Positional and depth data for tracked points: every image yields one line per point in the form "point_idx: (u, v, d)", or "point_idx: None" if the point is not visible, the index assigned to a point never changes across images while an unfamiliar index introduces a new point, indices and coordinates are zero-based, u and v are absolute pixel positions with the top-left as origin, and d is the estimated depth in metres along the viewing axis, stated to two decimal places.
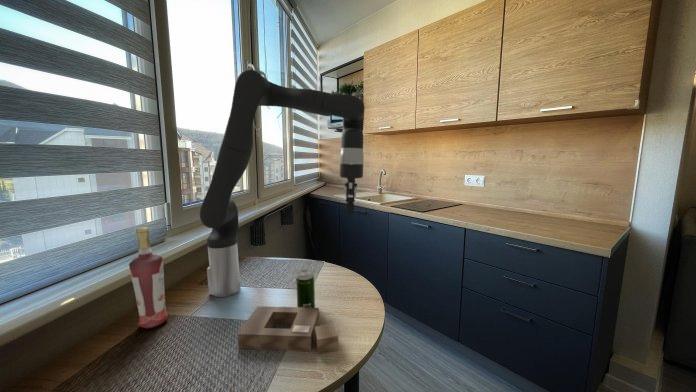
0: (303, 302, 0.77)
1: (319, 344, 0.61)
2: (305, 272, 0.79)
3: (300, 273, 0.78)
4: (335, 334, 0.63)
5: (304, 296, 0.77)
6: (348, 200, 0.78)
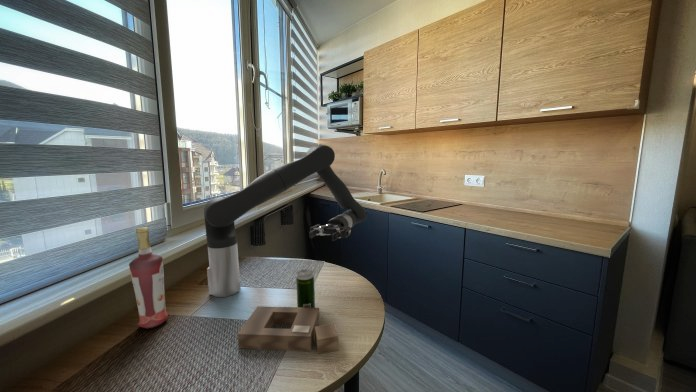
0: (303, 302, 0.77)
1: (319, 344, 0.61)
2: (305, 272, 0.79)
3: (300, 273, 0.78)
4: (335, 334, 0.63)
5: (304, 296, 0.77)
6: (345, 233, 0.89)
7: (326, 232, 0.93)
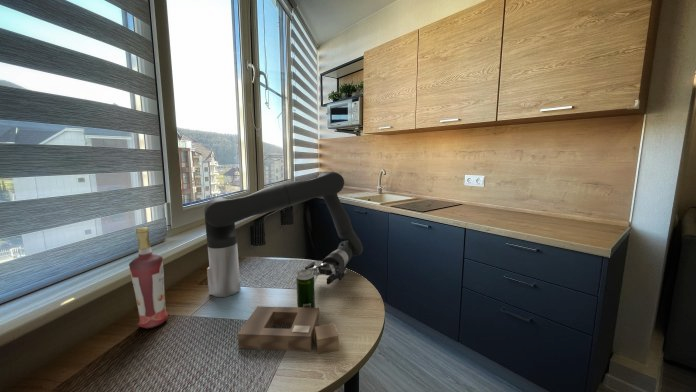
0: (303, 302, 0.77)
1: (319, 344, 0.61)
2: (305, 272, 0.79)
3: (300, 273, 0.78)
4: (335, 334, 0.63)
5: (304, 296, 0.77)
6: (341, 275, 0.88)
7: (321, 272, 0.92)
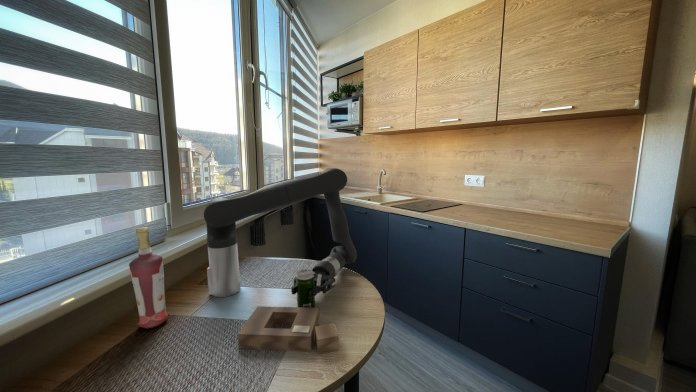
0: (303, 302, 0.77)
1: (319, 344, 0.61)
2: (305, 272, 0.79)
3: (300, 273, 0.78)
4: (335, 334, 0.63)
5: (304, 296, 0.77)
6: (325, 287, 0.79)
7: None
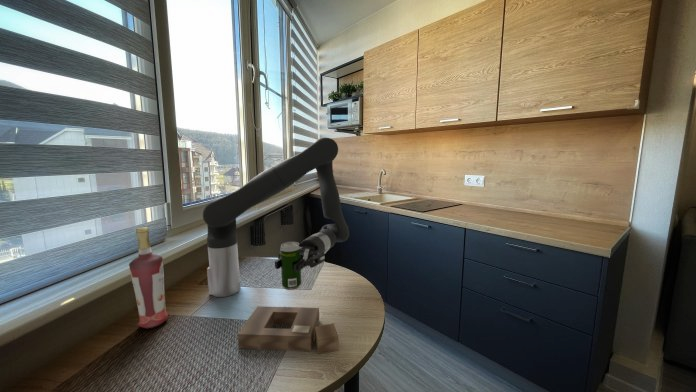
0: (288, 276, 0.69)
1: (319, 344, 0.61)
2: (290, 244, 0.71)
3: (284, 245, 0.70)
4: (335, 334, 0.63)
5: (289, 269, 0.69)
6: (313, 261, 0.71)
7: None
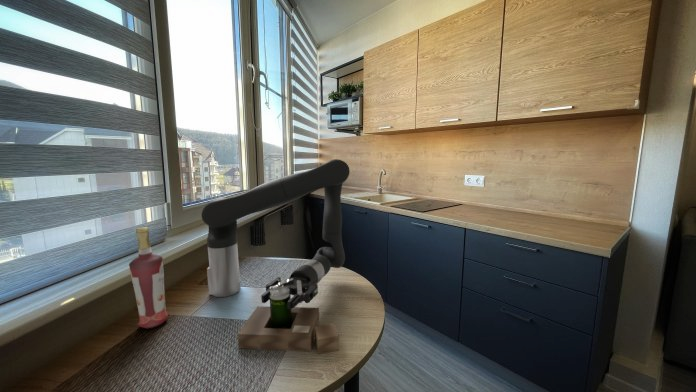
0: (277, 325, 0.66)
1: (319, 344, 0.61)
2: (280, 290, 0.68)
3: (274, 291, 0.67)
4: (335, 334, 0.63)
5: (278, 318, 0.66)
6: (308, 296, 0.68)
7: None
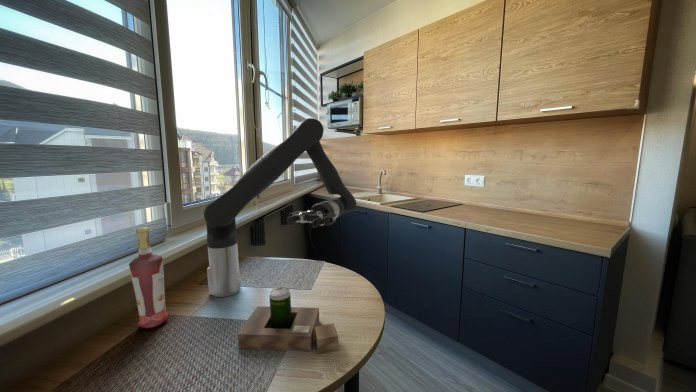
0: (277, 326, 0.66)
1: (319, 345, 0.61)
2: (280, 290, 0.68)
3: (274, 292, 0.67)
4: (335, 334, 0.63)
5: (278, 319, 0.66)
6: (329, 219, 0.77)
7: (307, 219, 0.81)
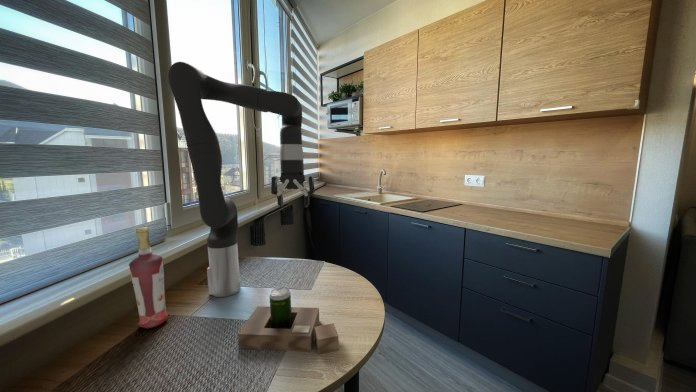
0: (277, 326, 0.66)
1: (320, 345, 0.61)
2: (280, 290, 0.68)
3: (274, 292, 0.67)
4: (335, 334, 0.63)
5: (278, 319, 0.66)
6: None
7: None
